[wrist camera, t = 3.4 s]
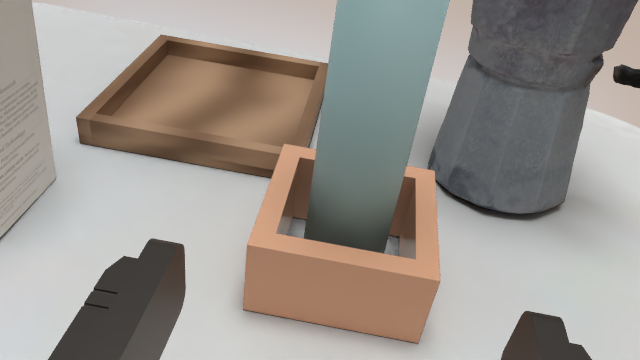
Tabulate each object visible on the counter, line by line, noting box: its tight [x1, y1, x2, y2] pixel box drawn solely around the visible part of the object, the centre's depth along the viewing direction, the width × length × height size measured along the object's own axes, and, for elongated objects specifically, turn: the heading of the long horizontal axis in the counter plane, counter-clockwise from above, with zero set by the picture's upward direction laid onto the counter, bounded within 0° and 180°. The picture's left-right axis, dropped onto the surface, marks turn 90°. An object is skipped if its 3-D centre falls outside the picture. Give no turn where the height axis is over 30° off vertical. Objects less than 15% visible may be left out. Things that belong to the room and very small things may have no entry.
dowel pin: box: [304, 0, 450, 254], centre depth 24 cm, size 4×4×15 cm
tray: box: [76, 35, 328, 178], centre depth 39 cm, size 14×14×2 cm
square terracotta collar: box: [243, 144, 440, 343], centre depth 27 cm, size 8×8×4 cm
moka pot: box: [428, 0, 640, 214], centre depth 31 cm, size 10×15×20 cm, turn 52°
